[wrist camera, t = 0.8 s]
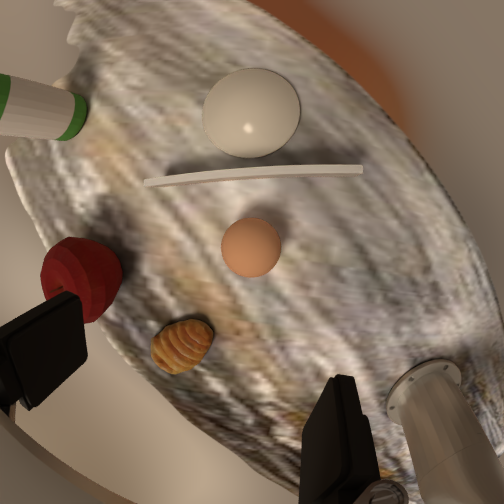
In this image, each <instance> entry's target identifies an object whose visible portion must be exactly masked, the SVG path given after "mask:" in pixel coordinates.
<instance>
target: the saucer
mask: <svg viewBox="0 0 504 504" xmlns="http://www.w3.org/2000/svg"><path fill="white" fill-rule="evenodd" d="M299 118H300V106H299V101H298V97H297V95H296V92H295V91H294V89H293V87H292V86H291V85H290V84H289V83H288V82H287V81H286V80H285V79H284V78H282V77H281V76H280V75H278V74H276V73H274V72H271V71H268V70H264V69H256V68H254V69H243V70H239V71H236V72H233V73H231V74H229V75H227V76H225V77H224V78H222V79H221V80H220V81H219V82H217V83H216V84H215V85H214V87H213V88H212V89H211V90H210V92H209V93H208V95H207V97H206V99H205V102H204V105H203V110H202V121H203V126H204V129H205V132H206V134H207V136H208V137H209V139H210V140H211V142H212V143H213V144H214V145H215V146H216V147H218V148H219V149H220V150H222V151H224V152H225V153H228V154H230V155H232V156H236V157H240V158H258V157H263V156H266V155H269V154H271V153H273V152H275V151H277V150H278V149H280V148H281V147H282V146H284V145H285V144H286V143H287V142H288V141H289V140H290V138H291V137H292V136H293V134H294V132H295V130H296V128H297V126H298V123H299Z"/></svg>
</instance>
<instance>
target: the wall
mask: <svg viewBox="0 0 504 504" xmlns="http://www.w3.org/2000/svg"><path fill="white" fill-rule="evenodd" d="M360 174H363V165H286V166H265V167H249V168H236V169H224V170H214V171H204V172H195V173H187V174H179V175H171V176H164V177H157V178H150V179H144V187H169V186H178V185H187V184H197V183H207V182H219V181H231V180H246V179H263V178H285V177H355V176H358V175H360Z"/></svg>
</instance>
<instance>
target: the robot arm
mask: <svg viewBox="0 0 504 504" xmlns="http://www.w3.org/2000/svg"><path fill="white" fill-rule="evenodd" d="M87 357H88V353H87V346H86V338H85V329H84V319H83V307H82V302H81V301H80V297H79V296H78V295H76V294H74V293H72V292H70V291H67V290H66V291H64V292H62V293H60V294H58V295H56V296H54V297H52V298H51V299H49V300H47V301H45V302H43V303H42V304H40V305H38V306H36V307H34V308H33V309H31V310H29V311H27V312H26V313H24V314H22V315H20V316H18V317H17V318H15V319H13V320H12V321H10V322H8V323H6V324H5V325H3V326H1V327H0V504H137V503H134V502H132V501H130V500H128V499H126V498H124V497H122V496H120V495H118V494H115V493H114V492H112V491H109V490H108V489H106V488H104V487H103V486H101V485H99V484H97V483H95V482H94V481H92V480H90V479H88V478H87V477H85V476H84V475H82V474H80V473H79V472H77V471H76V470H74V469H73V468H71V467H70V466H68V465H67V464H65V463H64V462H62V461H61V460H59V459H58V458H57V457H55V456H54V455H53V454H51V453H50V452H49V451H47V450H46V449H45V448H44V447H42V446H41V445H40V444H38V443H37V442H36V441H35V440H33V439H32V438H31V437H30V436H29V435H28V434H26V433H25V432H24V431H23V430H22V429H21V428H20V427H19V426H17V425H16V424H15V411H16V410H15V409H16V401H18V400H19V401H20V404H21V405H22V406H24V407H25V408H26V409H27V410H28V411H30V410H31V409H32V408H33V407H37V406H38V405H40V404H41V403H42V402H43V401H44V400H45V399H46V398H47V397H48V396H49V395H50V394H51V393H52V392H53V391H54V390H55V389H56V388H58V387H59V386H60V385H61V384H62V383H63V382H64V381H65V380H66V379H67V378H68V377H69V376H71V374H73V373H74V372H75V371H76V370H77V369H78V368H79V367H80V366H81V365H83V364H84V362H85V361H86V360H87ZM461 380H462V378H461V372H460V370H459V368H458V367H457V366H456V365H455V364H454V363H453V362H451V361H449V360H445V359H437V360H432V361H428V362H425V363H423V364H420V365H419V366H417V367H415V368H413V369H412V370H410V371H409V372H408V373H406V374H405V375H404V376H403V377H402V378H401V379H399V381H398V382H397V383H396V384H395V385H394V387H393V388H392V390H391V391H390V393H389V395H388V398H387V401H386V410H387V414H388V416H389V418H390V419H391V420H392V421H393V422H394V423H396V424H398V425H402V427H403V430H404V433H405V437H406V440H407V444H408V447H409V451H410V454H411V458H412V462H413V466H414V470H415V474H416V478H417V482H418V486H419V490H420V495H421V497H422V499H423V501H424V502H425V503H426V504H504V468H503V466H502V464H501V462H500V461H499V459H498V457H497V455H496V453H495V451H494V449H493V447H492V445H491V443H490V441H489V439H488V437H487V435H486V434H485V432H484V430H483V428H482V426H481V424H480V423H479V421H478V419H477V417H476V416H475V414H474V412H473V411H472V409H471V407H470V405H469V404H468V402H467V401H466V399H465V397H464V396H463V394H462V392H461V391H460V386H461ZM408 503H409V497H408V493H407V491H406V490H405V488H404V487H403V486H402V485H401V484H399V483H398V482H396V481H393V480H388V479H383V480H381V478H380V473H379V467H378V462H377V457H376V452H375V447H374V442H373V437H372V433H371V428H370V424H369V420H368V417H367V416H366V415H363V414H362V409H361V405H360V400H359V396H358V392H357V387H356V383H355V379H354V377H353V376H347V375H340V374H337V375H336V376H335V377H334V378H332V377H330V378H329V380H328V382H327V384H326V386H325V388H324V390H323V392H322V394H321V396H320V398H319V400H318V402H317V404H316V406H315V407H314V409H313V411H312V413H311V415H310V417H309V419H308V420H307V422H306V424H305V426H304V428H303V432H302V450H301V472H300V489H299V504H408Z"/></svg>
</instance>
